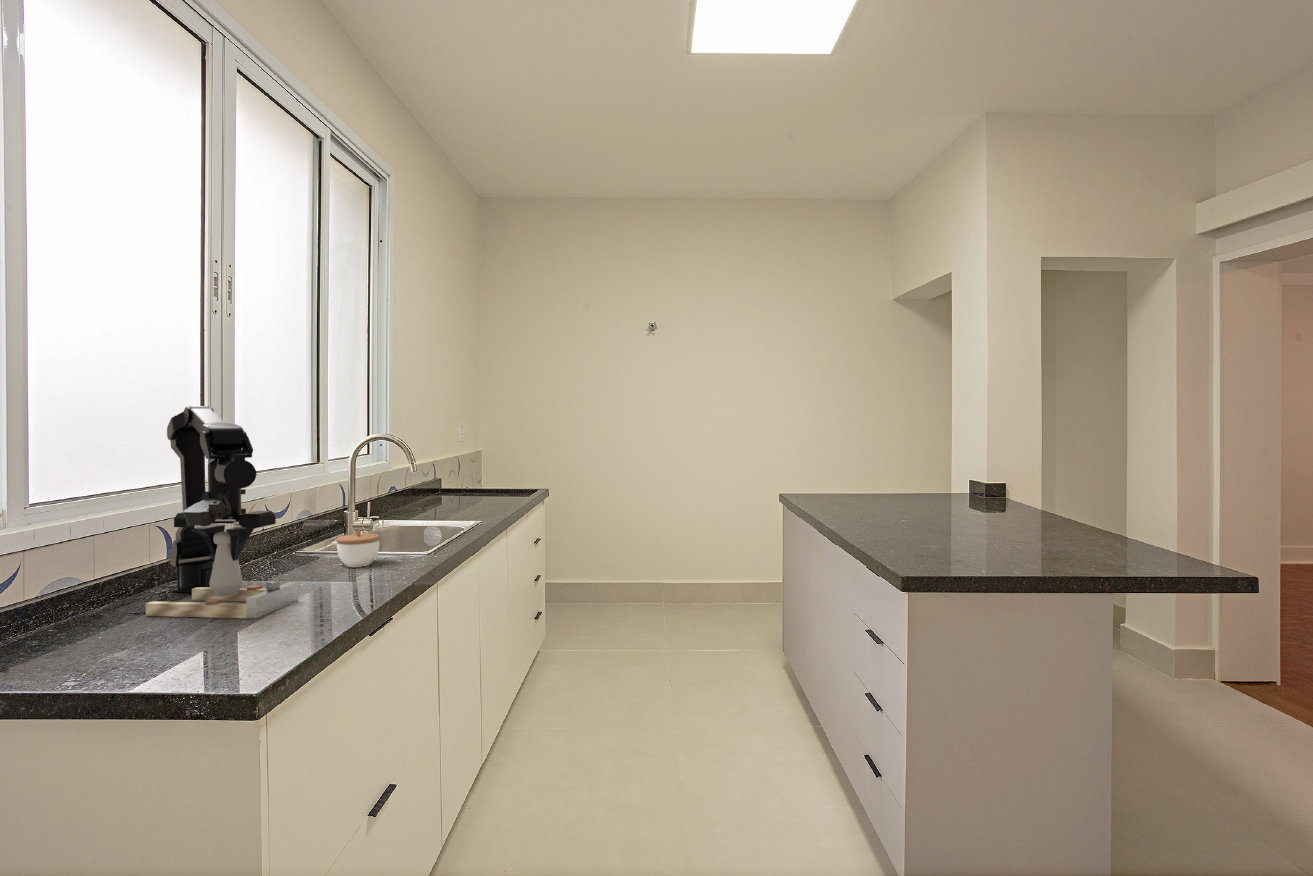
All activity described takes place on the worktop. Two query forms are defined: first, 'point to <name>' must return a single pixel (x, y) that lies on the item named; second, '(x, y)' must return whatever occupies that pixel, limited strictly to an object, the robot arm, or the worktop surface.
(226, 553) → the salt shaker
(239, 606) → the wooden tray
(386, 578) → the worktop surface
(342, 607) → the worktop surface
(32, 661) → the worktop surface
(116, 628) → the worktop surface
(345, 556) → the lidded jar
